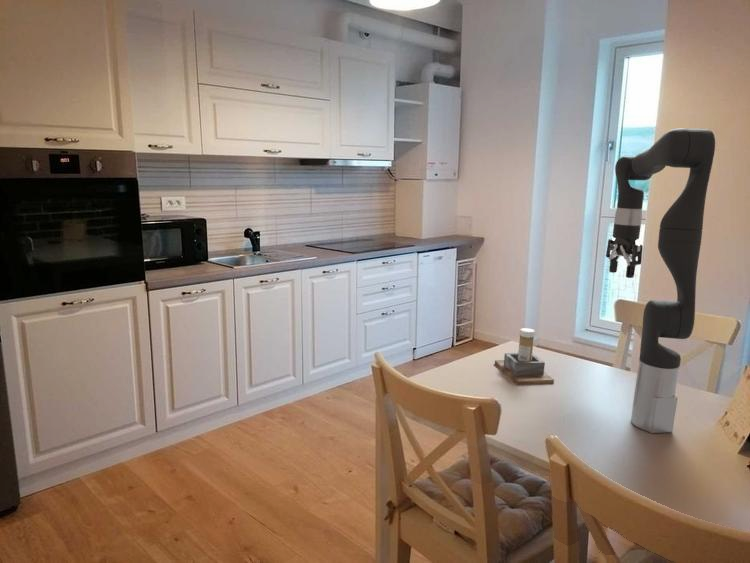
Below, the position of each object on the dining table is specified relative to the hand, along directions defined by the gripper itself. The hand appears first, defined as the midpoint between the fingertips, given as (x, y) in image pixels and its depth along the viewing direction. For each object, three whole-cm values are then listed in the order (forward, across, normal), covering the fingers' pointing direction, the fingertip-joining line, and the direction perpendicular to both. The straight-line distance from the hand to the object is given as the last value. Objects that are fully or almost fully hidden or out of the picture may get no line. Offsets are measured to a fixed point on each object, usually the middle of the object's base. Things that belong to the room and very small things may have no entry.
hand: (620, 274), depth 170 cm
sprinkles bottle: (+32, +4, +28) cm, 43 cm away
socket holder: (+33, +4, +28) cm, 43 cm away
